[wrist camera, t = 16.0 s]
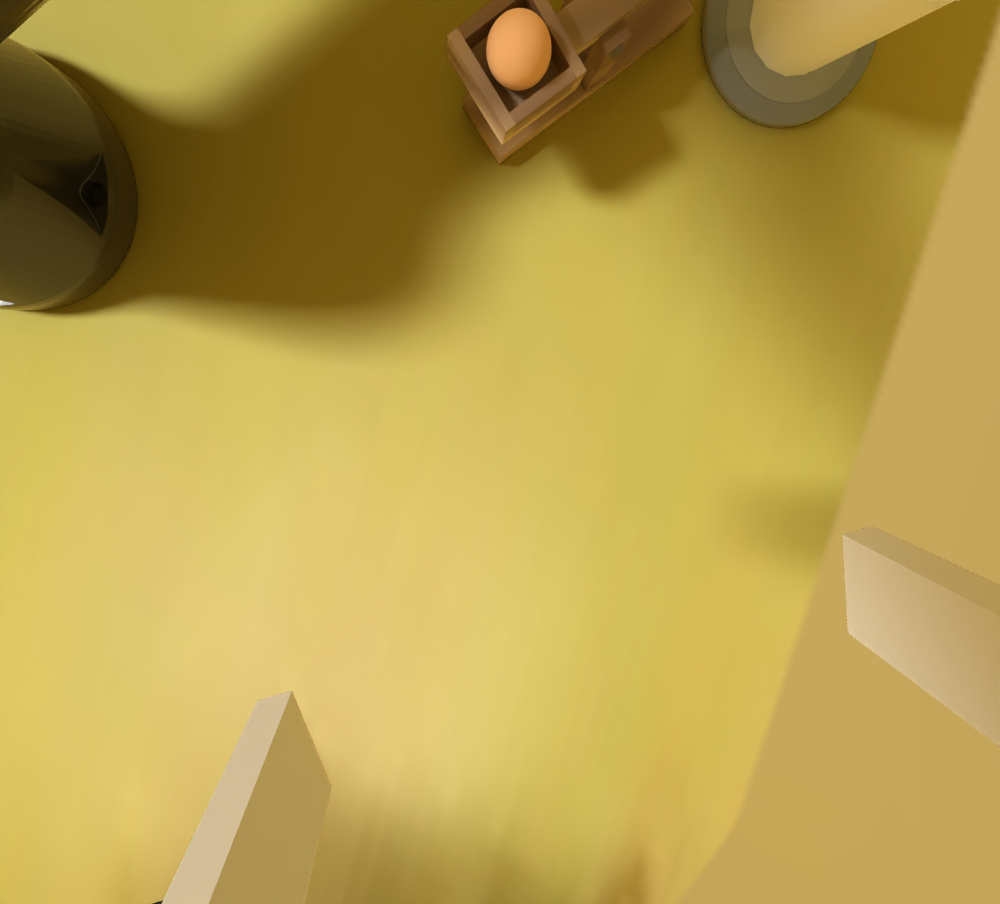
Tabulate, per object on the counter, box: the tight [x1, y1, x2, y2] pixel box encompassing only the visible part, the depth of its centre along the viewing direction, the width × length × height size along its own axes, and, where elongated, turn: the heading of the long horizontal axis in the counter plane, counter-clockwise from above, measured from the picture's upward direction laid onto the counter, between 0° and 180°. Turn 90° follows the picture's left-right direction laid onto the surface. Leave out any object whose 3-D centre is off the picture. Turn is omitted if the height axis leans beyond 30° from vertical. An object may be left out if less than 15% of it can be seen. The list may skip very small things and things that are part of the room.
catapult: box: [447, 0, 695, 164], centre depth 29 cm, size 5×16×9 cm, turn 126°
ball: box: [486, 8, 551, 91], centre depth 25 cm, size 3×3×3 cm
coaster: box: [702, 0, 877, 128], centre depth 34 cm, size 12×12×1 cm
